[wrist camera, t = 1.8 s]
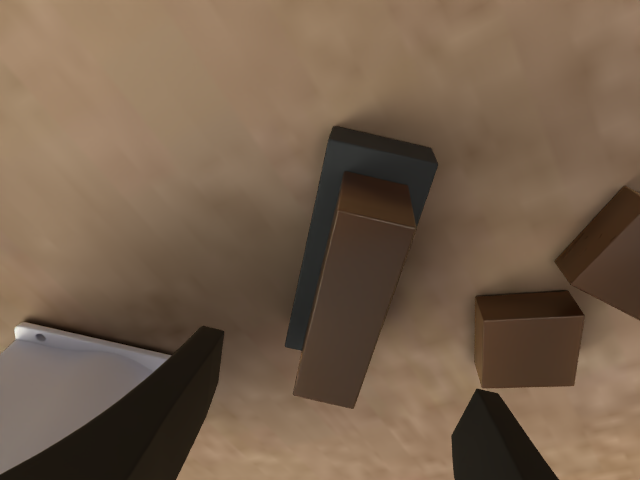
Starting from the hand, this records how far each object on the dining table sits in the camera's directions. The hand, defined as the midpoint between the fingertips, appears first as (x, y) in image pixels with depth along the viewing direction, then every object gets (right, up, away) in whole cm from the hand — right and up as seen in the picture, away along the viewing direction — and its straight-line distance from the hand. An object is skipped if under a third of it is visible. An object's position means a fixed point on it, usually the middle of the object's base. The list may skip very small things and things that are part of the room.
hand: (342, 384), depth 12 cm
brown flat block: (+12, +4, +6) cm, 14 cm away
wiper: (+1, +4, +7) cm, 8 cm away
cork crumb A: (+9, 0, +8) cm, 12 cm away
